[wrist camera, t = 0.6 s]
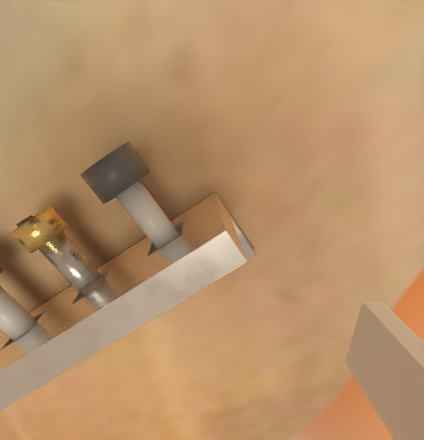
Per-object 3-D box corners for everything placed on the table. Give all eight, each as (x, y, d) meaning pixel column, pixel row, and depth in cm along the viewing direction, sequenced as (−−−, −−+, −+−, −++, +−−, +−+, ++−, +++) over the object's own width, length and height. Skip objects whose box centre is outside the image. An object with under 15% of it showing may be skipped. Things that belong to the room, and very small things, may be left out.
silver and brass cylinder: (24, 221, 30) (-1, 236, 26) (55, 199, 29) (35, 211, 25) (95, 298, 33) (82, 321, 29) (125, 279, 32) (115, 301, 29)
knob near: (91, 170, 29) (71, 180, 24) (133, 140, 28) (121, 144, 24) (159, 256, 32) (153, 279, 27) (198, 231, 32) (199, 251, 27)
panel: (8, 326, 37) (-75, 418, 25) (215, 192, 33) (225, 230, 22) (57, 370, 39) (0, 473, 28) (254, 251, 35) (282, 313, 24)
